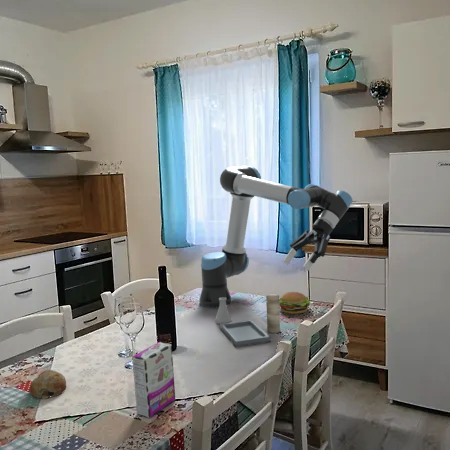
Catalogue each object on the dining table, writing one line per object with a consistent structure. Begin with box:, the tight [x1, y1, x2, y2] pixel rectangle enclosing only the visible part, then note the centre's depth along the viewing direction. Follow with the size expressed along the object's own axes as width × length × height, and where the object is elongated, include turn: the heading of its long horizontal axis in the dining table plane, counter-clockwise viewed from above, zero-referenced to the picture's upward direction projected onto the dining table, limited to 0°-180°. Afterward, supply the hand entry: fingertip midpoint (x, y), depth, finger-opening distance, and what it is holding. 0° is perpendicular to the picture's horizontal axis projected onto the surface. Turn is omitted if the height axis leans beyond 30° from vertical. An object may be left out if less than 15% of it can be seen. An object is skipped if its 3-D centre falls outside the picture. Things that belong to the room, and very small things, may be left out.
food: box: [279, 291, 310, 315], centre depth 206 cm, size 14×14×8 cm
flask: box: [214, 298, 233, 325], centre depth 195 cm, size 7×7×10 cm
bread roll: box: [29, 369, 67, 399], centre depth 139 cm, size 10×10×8 cm
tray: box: [220, 319, 271, 348], centre depth 179 cm, size 20×13×2 cm, turn 17°
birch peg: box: [265, 293, 281, 334], centre depth 181 cm, size 5×5×14 cm
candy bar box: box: [131, 341, 176, 419], centre depth 127 cm, size 11×5×16 cm, turn 148°
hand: (294, 265), depth 184 cm, fingers open, 13 cm apart
